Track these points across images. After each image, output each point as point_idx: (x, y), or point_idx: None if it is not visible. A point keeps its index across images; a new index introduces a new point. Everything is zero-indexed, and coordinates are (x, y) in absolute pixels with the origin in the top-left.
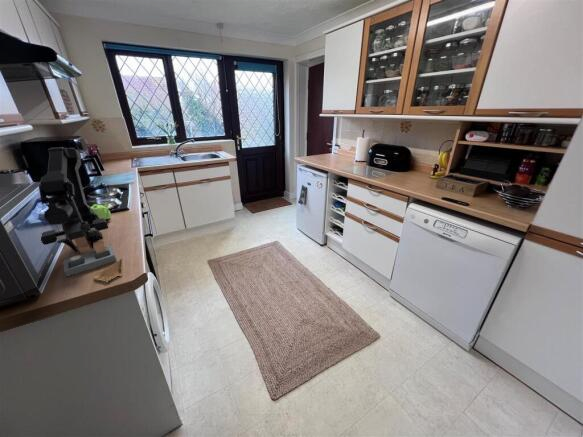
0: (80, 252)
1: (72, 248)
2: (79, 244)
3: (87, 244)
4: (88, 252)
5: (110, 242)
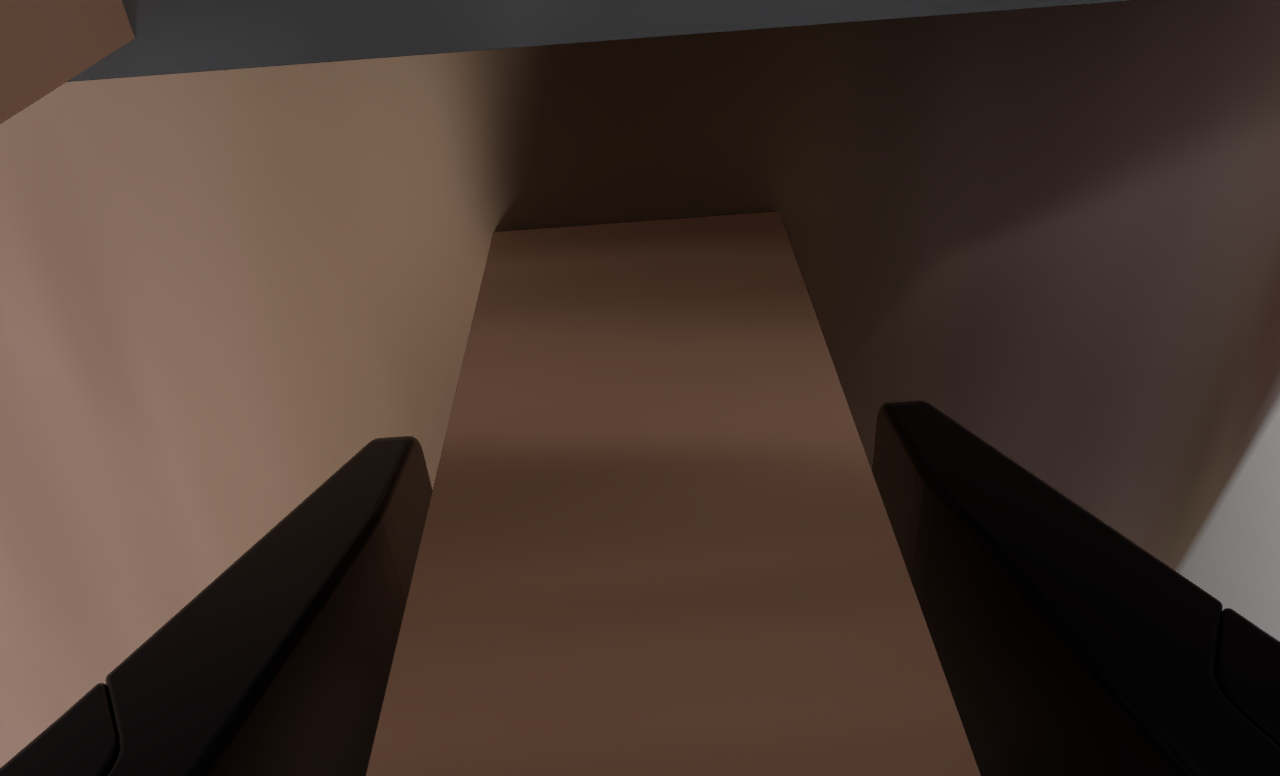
0: (804, 321)
1: (1091, 530)
2: (776, 612)
3: (434, 530)
4: (473, 5)
5: (95, 659)
